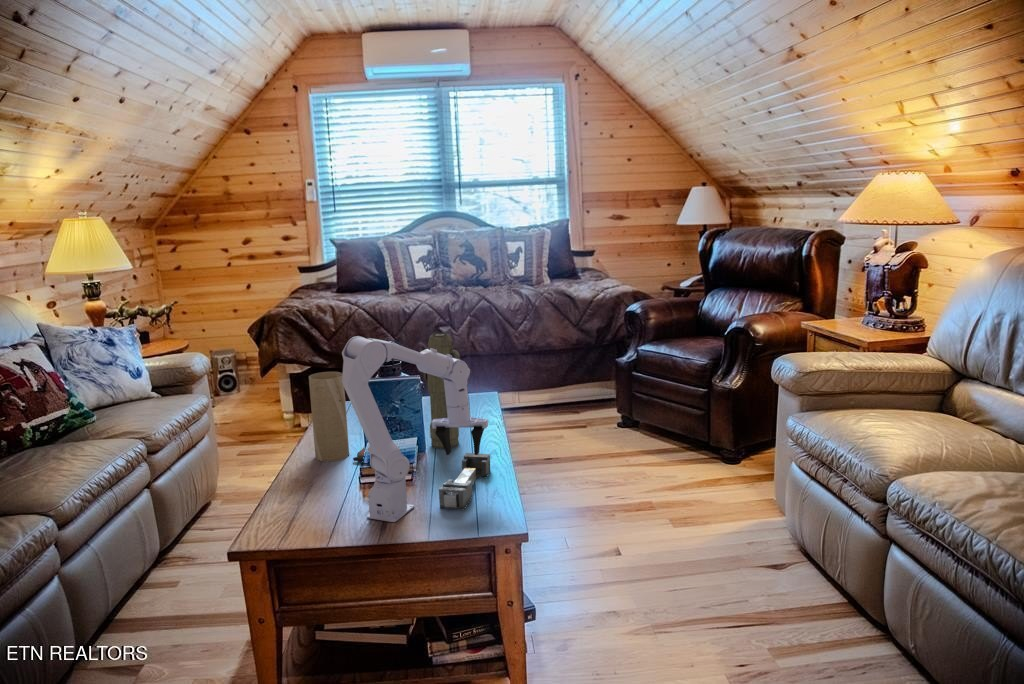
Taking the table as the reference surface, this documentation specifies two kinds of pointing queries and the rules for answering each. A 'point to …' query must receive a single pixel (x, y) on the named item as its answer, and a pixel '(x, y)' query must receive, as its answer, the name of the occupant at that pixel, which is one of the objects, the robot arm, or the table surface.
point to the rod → (453, 498)
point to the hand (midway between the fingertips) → (462, 453)
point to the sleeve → (463, 492)
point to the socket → (477, 463)
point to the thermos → (440, 389)
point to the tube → (329, 416)
